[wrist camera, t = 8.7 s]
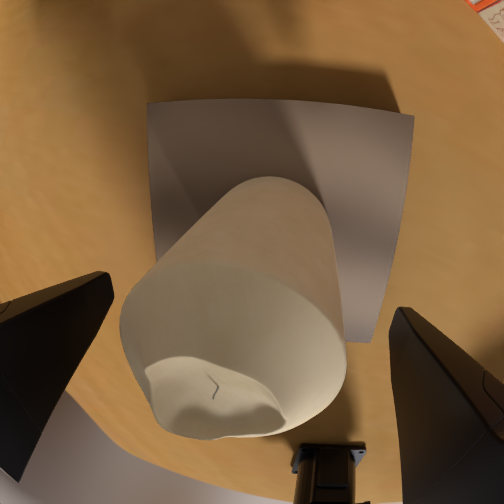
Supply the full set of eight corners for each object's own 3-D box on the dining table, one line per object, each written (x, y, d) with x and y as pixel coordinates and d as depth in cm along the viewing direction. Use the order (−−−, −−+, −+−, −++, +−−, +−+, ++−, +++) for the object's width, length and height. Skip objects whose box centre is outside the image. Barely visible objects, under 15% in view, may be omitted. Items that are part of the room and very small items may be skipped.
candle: (260, 302, 16) (207, 481, 7) (191, 220, 15) (54, 360, 6) (353, 248, 14) (392, 442, 5) (283, 149, 13) (215, 234, 4)
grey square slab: (366, 321, 18) (370, 343, 16) (176, 300, 20) (164, 317, 18) (401, 115, 13) (414, 115, 11) (165, 103, 15) (147, 103, 13)
